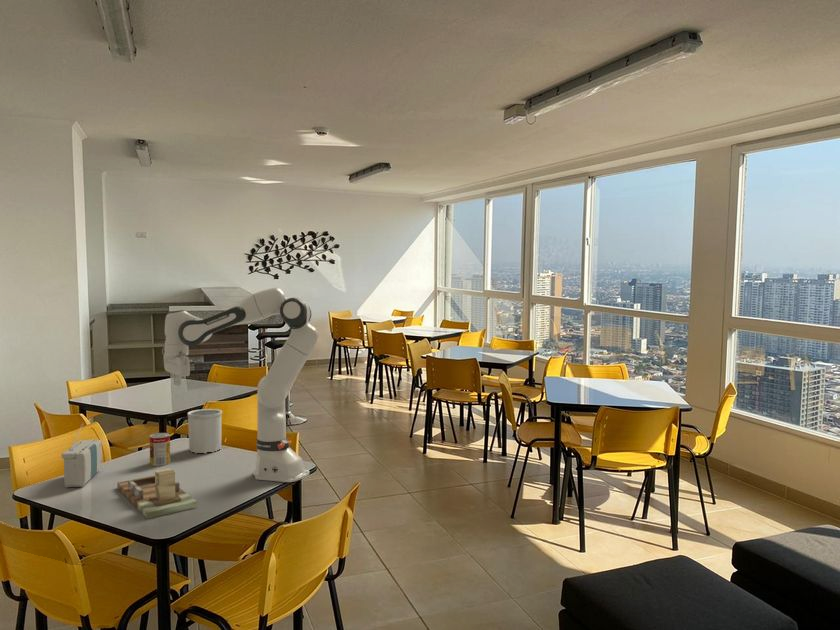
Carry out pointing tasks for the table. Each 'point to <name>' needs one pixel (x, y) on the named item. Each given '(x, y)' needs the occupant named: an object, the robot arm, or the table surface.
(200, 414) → the utensil holder
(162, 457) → the canned food
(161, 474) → the wood block
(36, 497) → the table surface
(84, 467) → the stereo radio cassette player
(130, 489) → the track
